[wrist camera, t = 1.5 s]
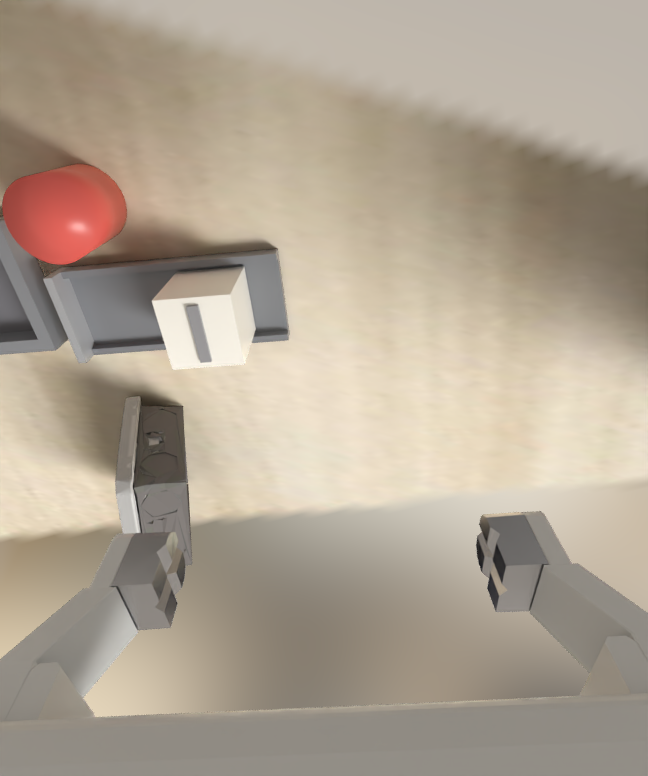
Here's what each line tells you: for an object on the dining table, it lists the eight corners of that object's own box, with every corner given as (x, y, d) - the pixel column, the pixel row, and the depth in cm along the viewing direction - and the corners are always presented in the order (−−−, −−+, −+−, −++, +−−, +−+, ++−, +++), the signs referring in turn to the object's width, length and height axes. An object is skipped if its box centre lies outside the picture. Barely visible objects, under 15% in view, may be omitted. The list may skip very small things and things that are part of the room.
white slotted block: (244, 266, 27) (229, 295, 23) (255, 328, 29) (244, 366, 25) (176, 271, 27) (150, 302, 23) (193, 333, 29) (171, 371, 25)
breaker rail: (277, 248, 26) (274, 259, 25) (289, 333, 29) (287, 347, 28) (60, 267, 27) (42, 278, 25) (93, 348, 30) (78, 363, 28)
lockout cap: (113, 160, 24) (72, 171, 20) (136, 237, 26) (103, 261, 22) (39, 167, 24) (-14, 179, 21) (68, 243, 26) (24, 267, 23)
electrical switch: (127, 389, 32) (79, 486, 24) (203, 392, 33) (181, 487, 25) (141, 486, 37) (105, 592, 29) (207, 487, 38) (189, 591, 30)
